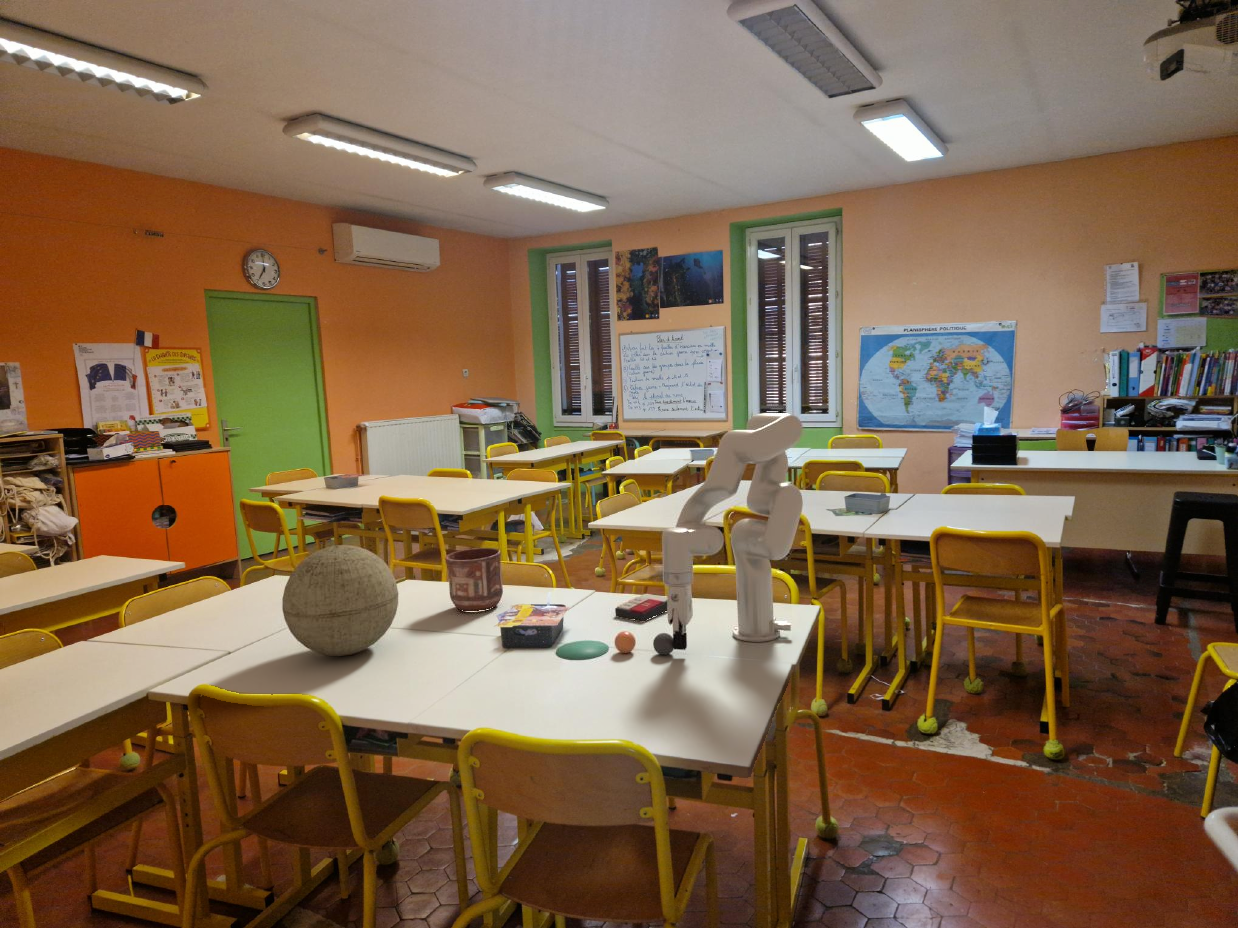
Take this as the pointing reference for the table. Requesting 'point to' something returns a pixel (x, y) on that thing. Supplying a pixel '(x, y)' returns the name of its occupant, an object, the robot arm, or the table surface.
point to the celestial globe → (340, 600)
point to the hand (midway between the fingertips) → (680, 648)
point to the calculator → (642, 607)
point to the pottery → (475, 578)
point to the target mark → (582, 650)
